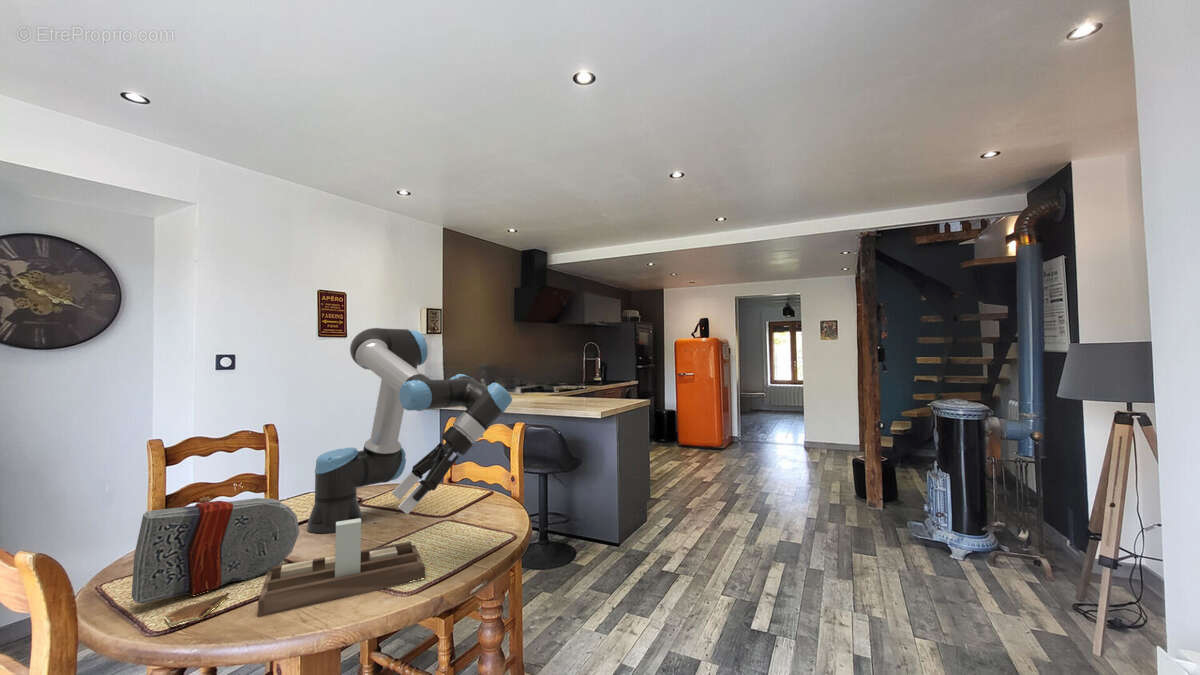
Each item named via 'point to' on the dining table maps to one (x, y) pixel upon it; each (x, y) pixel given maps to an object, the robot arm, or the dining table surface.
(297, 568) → the birch offcut
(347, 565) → the tall sheet
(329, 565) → the birch offcut
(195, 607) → the shard
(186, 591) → the decorative stone tablet
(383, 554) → the birch offcut
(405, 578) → the walnut rack
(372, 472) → the robot arm
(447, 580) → the dining table surface
